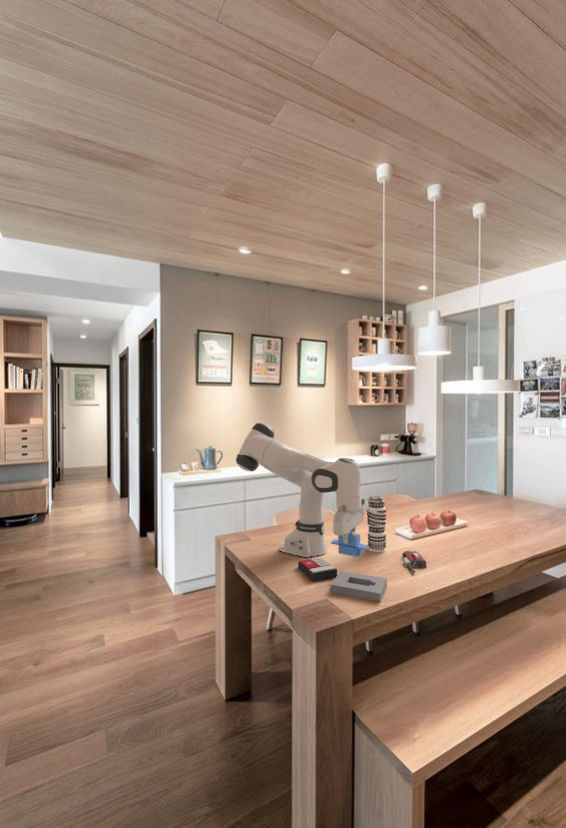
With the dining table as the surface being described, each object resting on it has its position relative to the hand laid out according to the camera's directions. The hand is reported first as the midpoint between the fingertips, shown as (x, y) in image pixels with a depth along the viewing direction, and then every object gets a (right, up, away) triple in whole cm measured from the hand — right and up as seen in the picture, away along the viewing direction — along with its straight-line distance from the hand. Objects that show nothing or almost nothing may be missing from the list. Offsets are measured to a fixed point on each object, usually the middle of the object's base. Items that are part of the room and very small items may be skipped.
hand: (349, 540), depth 143 cm
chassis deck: (+4, -19, +3) cm, 20 cm away
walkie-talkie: (+32, -19, +24) cm, 44 cm away
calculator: (-10, -20, +18) cm, 29 cm away
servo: (0, -5, 0) cm, 5 cm away
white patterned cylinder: (+21, -18, +43) cm, 51 cm away
